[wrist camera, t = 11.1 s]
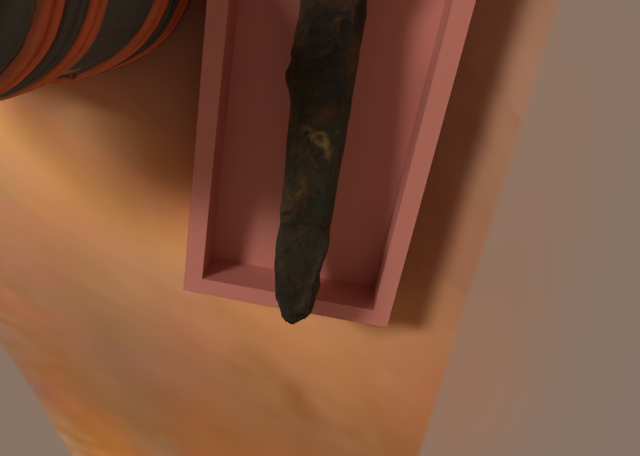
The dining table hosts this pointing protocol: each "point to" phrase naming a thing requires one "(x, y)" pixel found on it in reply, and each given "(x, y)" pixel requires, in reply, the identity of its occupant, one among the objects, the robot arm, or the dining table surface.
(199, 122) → the pink tray
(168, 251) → the dining table surface
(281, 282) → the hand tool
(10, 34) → the beer stein
